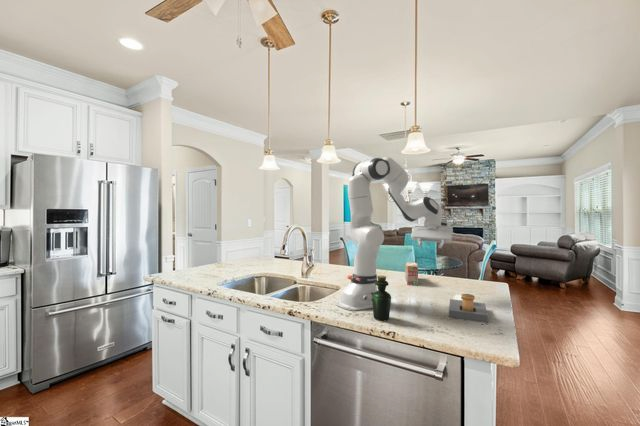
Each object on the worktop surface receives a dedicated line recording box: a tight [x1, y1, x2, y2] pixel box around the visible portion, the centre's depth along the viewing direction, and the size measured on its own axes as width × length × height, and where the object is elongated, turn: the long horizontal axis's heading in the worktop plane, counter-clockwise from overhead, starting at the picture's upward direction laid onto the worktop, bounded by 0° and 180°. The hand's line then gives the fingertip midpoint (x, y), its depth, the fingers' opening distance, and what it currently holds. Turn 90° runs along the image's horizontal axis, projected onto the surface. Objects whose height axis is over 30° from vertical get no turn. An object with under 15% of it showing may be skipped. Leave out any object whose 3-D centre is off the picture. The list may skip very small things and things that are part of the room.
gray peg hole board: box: [448, 297, 489, 323], centre depth 138 cm, size 18×15×6 cm
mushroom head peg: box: [460, 293, 476, 312], centre depth 135 cm, size 5×5×9 cm
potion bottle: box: [372, 275, 392, 322], centre depth 130 cm, size 8×8×18 cm
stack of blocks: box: [404, 261, 419, 287], centre depth 197 cm, size 21×6×12 cm, turn 168°
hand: (430, 246), depth 156 cm, fingers open, 8 cm apart
